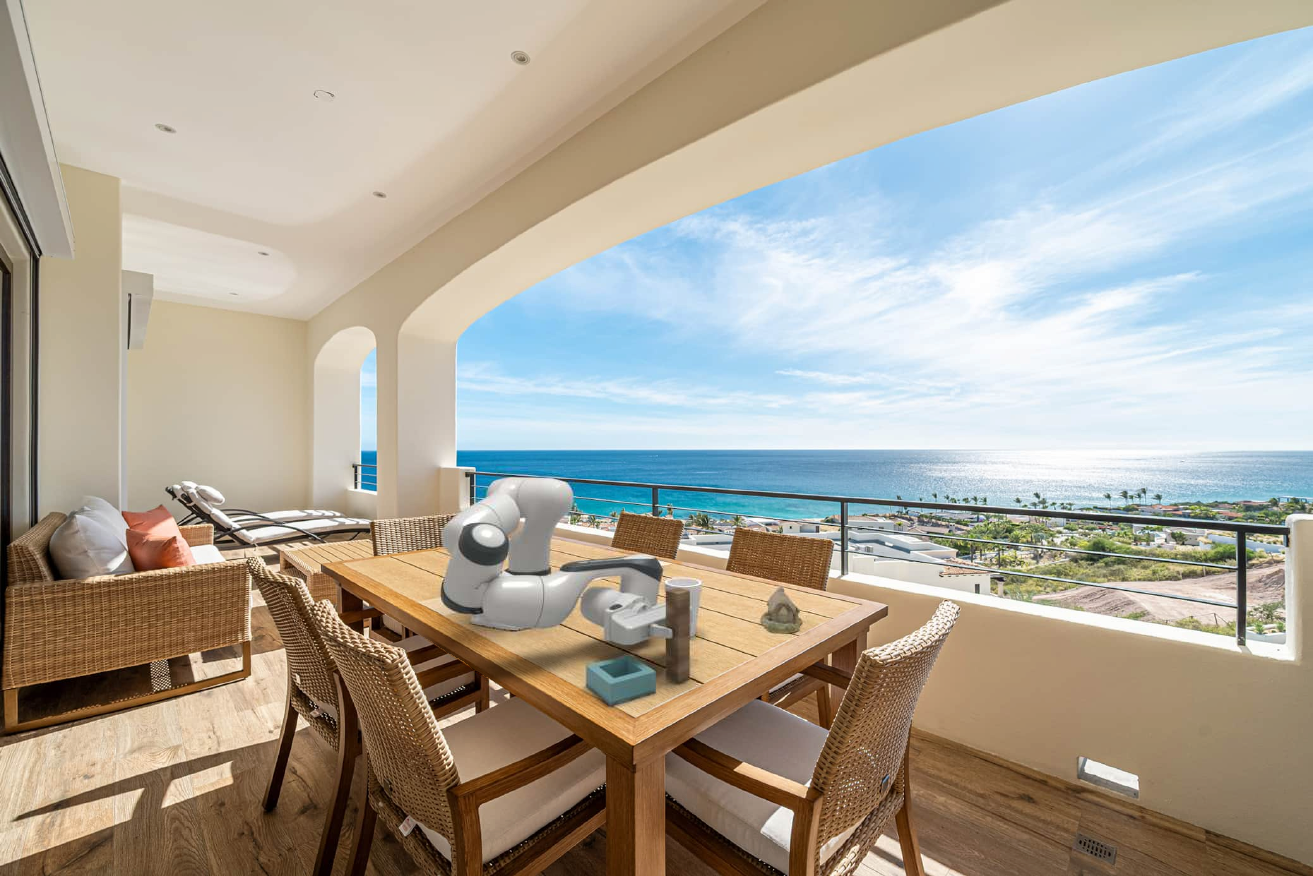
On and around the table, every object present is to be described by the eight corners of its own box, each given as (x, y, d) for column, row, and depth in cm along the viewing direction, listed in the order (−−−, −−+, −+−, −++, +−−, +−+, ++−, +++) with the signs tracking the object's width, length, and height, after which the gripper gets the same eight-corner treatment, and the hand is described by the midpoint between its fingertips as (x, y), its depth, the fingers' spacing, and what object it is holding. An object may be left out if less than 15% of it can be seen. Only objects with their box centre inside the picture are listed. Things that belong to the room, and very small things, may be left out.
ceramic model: (759, 616, 151) (759, 580, 151) (799, 618, 149) (799, 582, 150) (762, 633, 137) (762, 594, 137) (807, 635, 135) (807, 595, 136)
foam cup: (687, 642, 130) (687, 589, 130) (657, 634, 135) (657, 583, 135) (708, 632, 137) (708, 581, 137) (678, 624, 143) (678, 576, 143)
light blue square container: (586, 685, 106) (586, 665, 106) (629, 674, 112) (629, 654, 112) (610, 706, 98) (610, 684, 98) (655, 692, 103) (655, 671, 103)
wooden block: (665, 679, 109) (665, 590, 109) (676, 674, 112) (677, 587, 112) (678, 684, 107) (678, 594, 107) (689, 679, 109) (689, 590, 109)
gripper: (665, 619, 126) (712, 633, 116) (598, 642, 111) (646, 660, 101) (665, 592, 126) (712, 604, 116) (598, 611, 111) (646, 627, 101)
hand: (680, 630), depth 109 cm, fingers closed on wooden block, 3 cm apart
